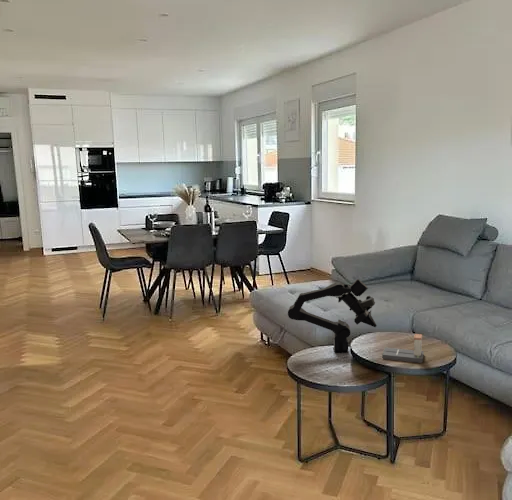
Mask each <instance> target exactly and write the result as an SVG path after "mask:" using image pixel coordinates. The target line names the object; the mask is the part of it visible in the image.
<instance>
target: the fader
mask: <svg viewBox="0 0 512 500" xmlns="http://www.w3.org/2000/svg"><path fill="white" fill-rule="evenodd" d="M413 343H414V344H413V346H414V347H413V350H414V355H415V356H421V352H422V351H423V349H422V347H423V346H422V344H423V334H421V333H420V334H418V333H415V334H414V336H413Z"/></svg>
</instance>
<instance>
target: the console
mask: <svg viewBox="0 0 512 500" xmlns="http://www.w3.org/2000/svg"><path fill="white" fill-rule="evenodd" d="M382 351H383V352H382V354H381V355H382V356H381V357H382V358H384V359H383V360H390V359H391V361H401V362H409V363H410V362H411V363H419V364H423V360H424V354H425V351H424V350H422V352H421V356H415V355H414V349H405V348H396V347H384V349H383V350H382ZM382 358H381V359H382Z"/></svg>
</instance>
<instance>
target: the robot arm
mask: <svg viewBox="0 0 512 500" xmlns="http://www.w3.org/2000/svg"><path fill="white" fill-rule="evenodd" d="M368 289H369V288H368V286H367V285H366V283H364V282H363V281H362V280H360V279H359V278H356V280H355V281H354V282H353V283H352V284H351V285H350V284H344V283H343V282H342V281H337V282H334V283H332V284H330V285H328V286H326V287H322V288H319V289H314V290H311V291H306V292H302V293H299V295H298V297H297V299H296V300H295V301H294V303H293V305H290V306H289V307H288V311H287V316H288V318H289V319H291V320H294V321H304V322H307V323H310V324H313V325H315V326H318V327H321V328H324V329H327V330H329V331H332V333H334V337H333V347H332V349H333V352H334V353H335V354H338V353H339V354H341V353H343V354H344V353H346V354H347V353H349V341H348V339H347V338H349V337H350V335H351V326H350V325H349V323H347V321H343V320H341V319H338V320H337V321H332V320H330V319H327V318H324V317H322V316H319V315H315V314H314V313H311V312H308V311H306V310H305V309H304V308H302V307H303V306H304V304H305V302H309V301H314V300H317V299H321V298H322V299H323V298H326V297H338V298H337V300H338V303H341V302H343V303H344V304H345V305H346V306H347V307H348V308H349V311H352V312H353V313H354V314H355V318H354V321H353V322H354V323H355V324H356V325H359V324H360V323H364V324H366V325H369V326H370V327H373V328H376V327H377V326H378V325H377V323H376V322H375V320H374V317H373V316H372V310H371V309H372V308H373V307H374V306H375V304H376V302H375V298H373V296H370V295H368V296H367V295H366V297H365V299H364V300H362V299H358V298H357V297H361V296H362V295H363V294H364V293H365V292H366V291H367V290H368ZM369 310H370V311H369Z"/></svg>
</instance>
